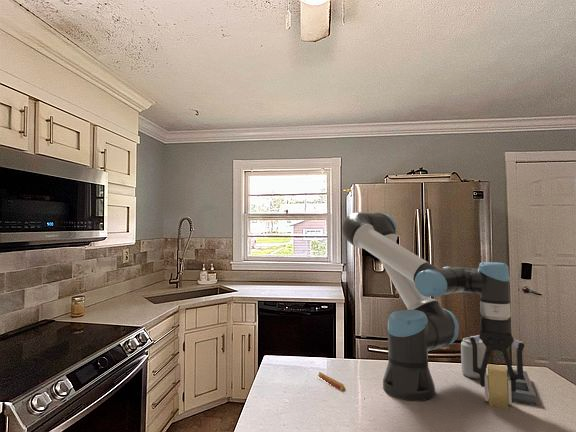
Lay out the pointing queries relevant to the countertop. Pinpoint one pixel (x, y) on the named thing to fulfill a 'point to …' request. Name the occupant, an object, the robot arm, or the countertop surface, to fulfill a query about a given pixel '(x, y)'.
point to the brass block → (497, 386)
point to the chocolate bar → (332, 382)
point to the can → (471, 357)
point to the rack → (523, 390)
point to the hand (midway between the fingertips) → (498, 400)
